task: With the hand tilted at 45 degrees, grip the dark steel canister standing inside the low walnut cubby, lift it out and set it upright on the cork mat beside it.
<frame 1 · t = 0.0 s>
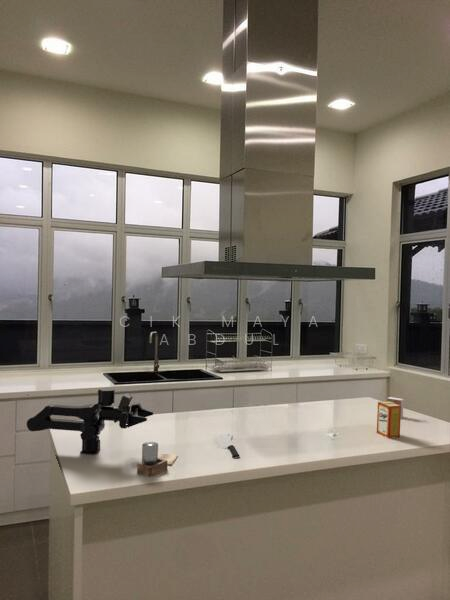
hand: (150, 416, 203), 17 cm above the counter, tool horizontal, fingers open, 9 cm apart
kitchen cleaver: (225, 447, 220), on the counter
canister: (149, 457, 188), in the cubby
mat: (160, 459, 200), on the counter
cubby: (149, 470, 188), on the counter
baking soda box: (388, 435, 245), on the counter
small box: (394, 417, 281), on the counter
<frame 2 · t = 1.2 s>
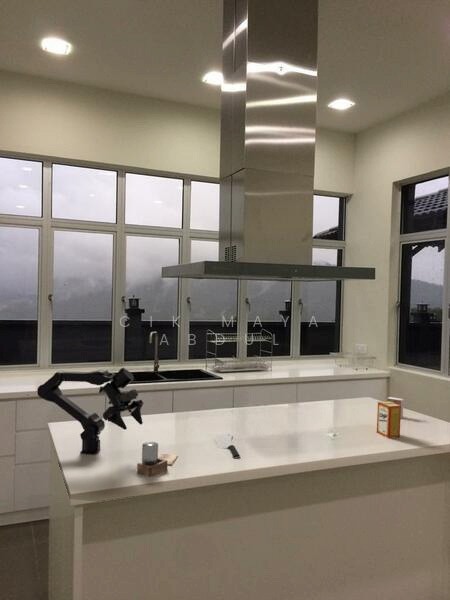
hand: (134, 426, 198), 14 cm above the counter, tool tilted 45°, fingers open, 9 cm apart
nothing on the counter moved.
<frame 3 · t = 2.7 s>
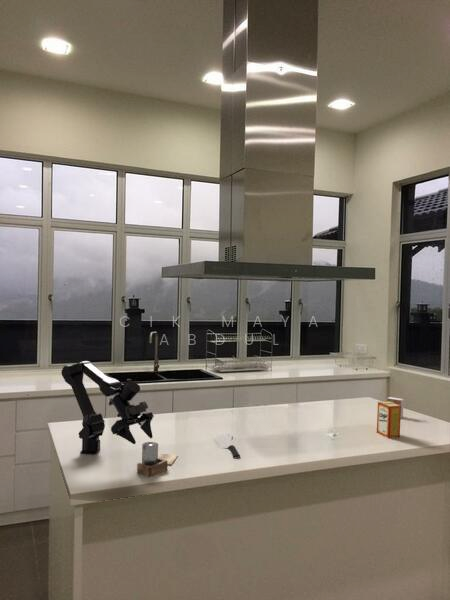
hand: (143, 440, 190), 11 cm above the counter, tool tilted 45°, fingers open, 9 cm apart
nothing on the counter moved.
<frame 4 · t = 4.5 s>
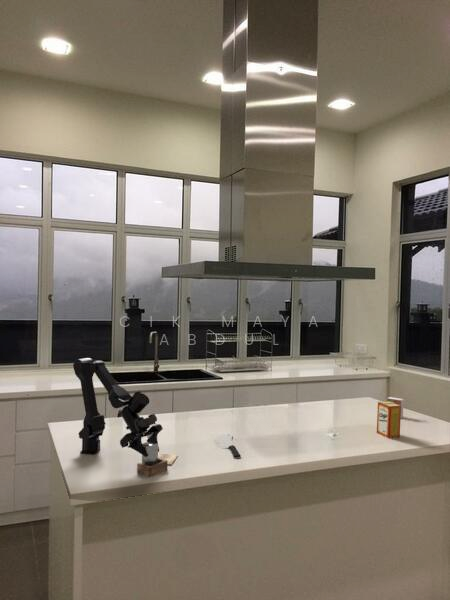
hand: (152, 454, 187), 7 cm above the counter, tool tilted 45°, fingers closed on canister, 6 cm apart
canister: (150, 457, 188), in the cubby, touching gripper
everything else where it was.
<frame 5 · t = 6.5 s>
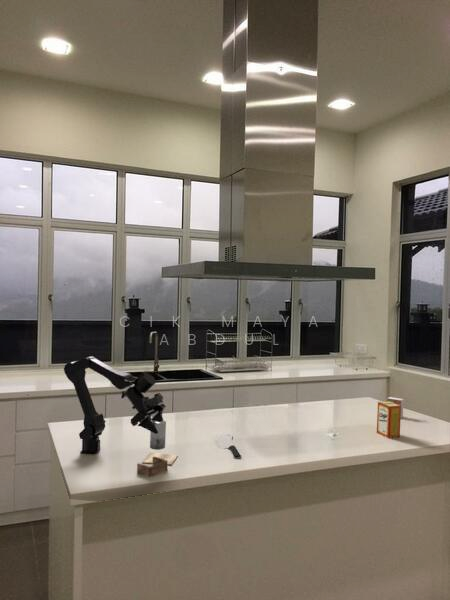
hand: (161, 431, 194), 13 cm above the counter, tool tilted 45°, fingers closed on canister, 6 cm apart
canister: (158, 434, 195), point 12 cm above the counter, touching gripper
everything else where it was.
when the fingers open (8 cm above the counter, at t = 8.6 s): canister drops 1 cm, resting on mat.
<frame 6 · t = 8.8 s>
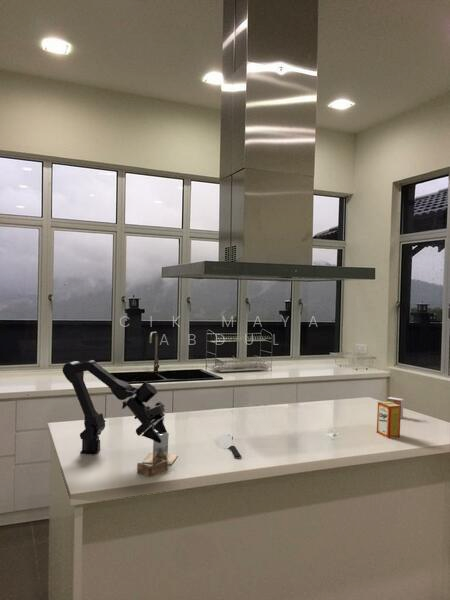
hand: (164, 439, 199), 9 cm above the counter, tool tilted 45°, fingers open, 8 cm apart
canister: (160, 446, 200), on the mat
everything else where it was.
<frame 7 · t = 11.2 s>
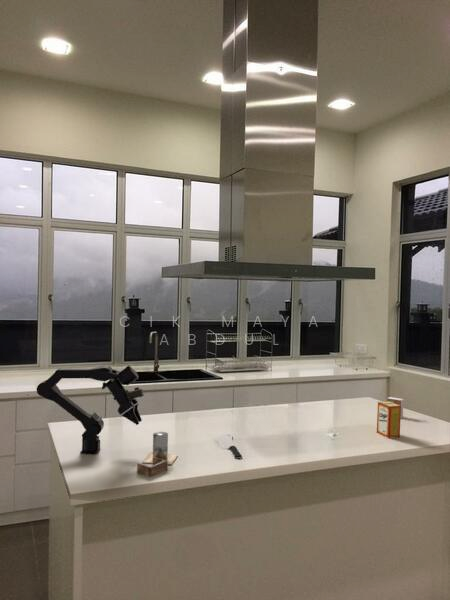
hand: (139, 422, 205), 13 cm above the counter, tool tilted 40°, fingers open, 9 cm apart
nothing on the counter moved.
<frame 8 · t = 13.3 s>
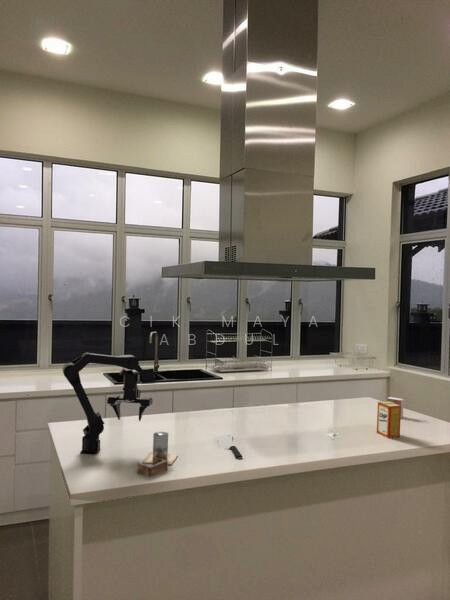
hand: (129, 420, 213), 12 cm above the counter, tool pointing down, fingers open, 9 cm apart
at the end: canister inside the target area on the mat (0.1 cm from its centre), point 5.5 cm above the mat's base; canister tilted 1°; the gripper is holding nothing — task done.
